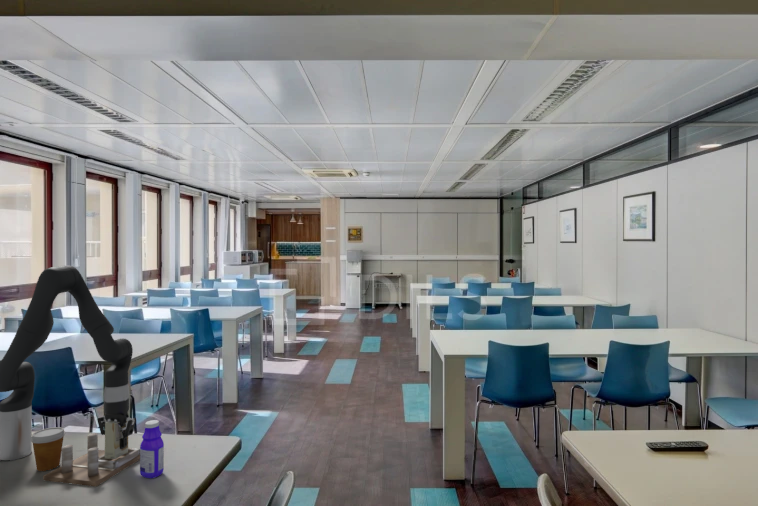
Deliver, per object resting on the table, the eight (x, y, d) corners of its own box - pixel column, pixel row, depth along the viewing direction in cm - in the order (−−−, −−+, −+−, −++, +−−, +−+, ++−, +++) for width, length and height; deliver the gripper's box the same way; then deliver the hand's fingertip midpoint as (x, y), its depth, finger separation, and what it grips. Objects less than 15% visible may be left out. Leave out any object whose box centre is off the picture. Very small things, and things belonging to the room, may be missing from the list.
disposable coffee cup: (71, 463, 155) (71, 429, 155) (41, 476, 147) (41, 439, 147) (55, 458, 159) (54, 424, 159) (24, 470, 151) (24, 434, 151)
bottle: (167, 472, 148) (167, 420, 148) (153, 480, 143) (153, 426, 143) (150, 469, 151) (150, 417, 151) (136, 477, 145) (136, 423, 145)
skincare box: (115, 459, 151) (114, 423, 151) (104, 458, 152) (103, 422, 152) (129, 451, 157) (129, 416, 157) (118, 450, 158) (118, 416, 158)
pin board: (43, 480, 144) (43, 450, 144) (94, 453, 163) (94, 427, 163) (95, 486, 139) (95, 456, 140) (142, 458, 159) (142, 431, 159)
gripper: (90, 400, 152) (90, 450, 152) (126, 402, 149) (126, 454, 149) (107, 393, 159) (107, 441, 159) (142, 395, 157) (142, 444, 156)
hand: (116, 447), depth 154 cm, fingers closed on skincare box, 4 cm apart
